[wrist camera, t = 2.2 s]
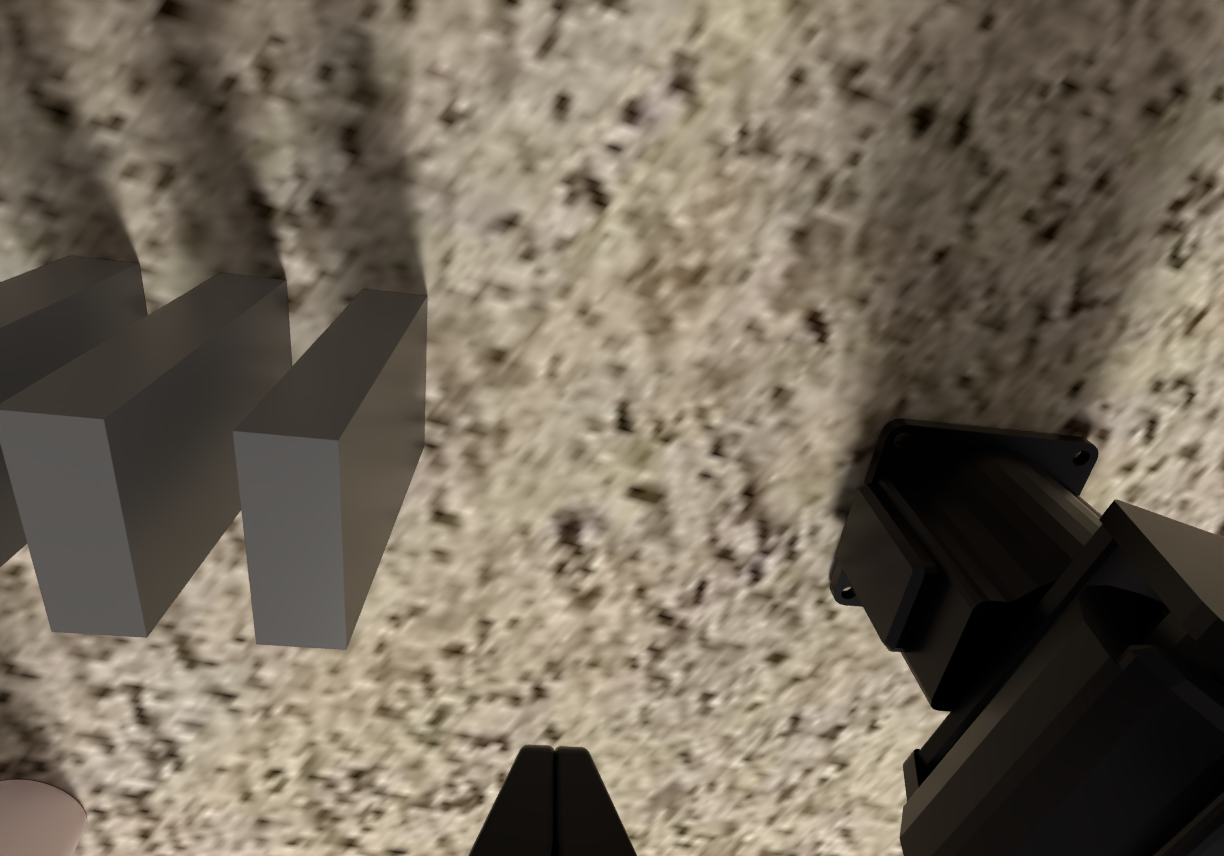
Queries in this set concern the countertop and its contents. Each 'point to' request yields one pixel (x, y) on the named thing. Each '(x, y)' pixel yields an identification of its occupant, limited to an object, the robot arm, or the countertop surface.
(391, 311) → the tile
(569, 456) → the countertop surface
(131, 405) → the tile
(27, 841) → the smoothie
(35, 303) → the tile
